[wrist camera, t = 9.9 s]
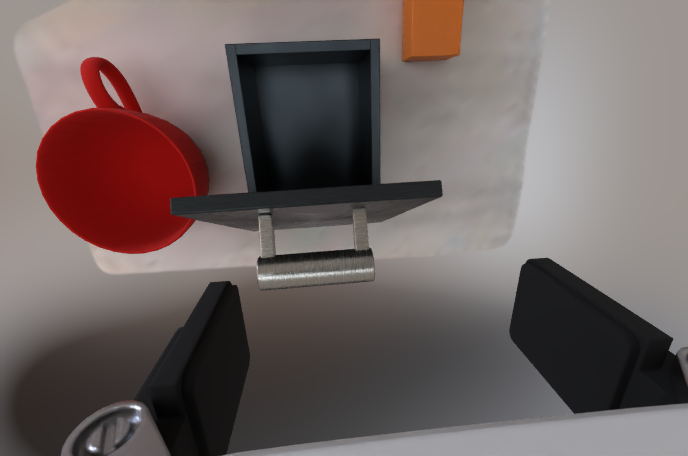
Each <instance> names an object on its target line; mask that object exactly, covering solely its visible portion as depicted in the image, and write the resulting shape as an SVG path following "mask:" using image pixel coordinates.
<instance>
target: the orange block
mask: <svg viewBox="0 0 688 456" xmlns="http://www.w3.org/2000/svg"><path fill="white" fill-rule="evenodd" d="M463 2H464V0H404V5H403V58H402V61H428V60H447V59H449V58H452V57H455V56H458V55H459V54H460V41H461V28H462V15H463Z"/></svg>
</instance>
